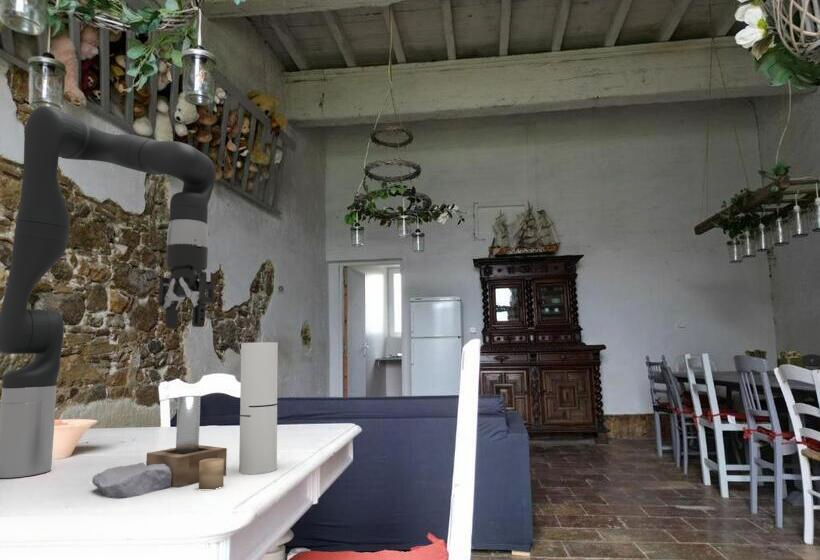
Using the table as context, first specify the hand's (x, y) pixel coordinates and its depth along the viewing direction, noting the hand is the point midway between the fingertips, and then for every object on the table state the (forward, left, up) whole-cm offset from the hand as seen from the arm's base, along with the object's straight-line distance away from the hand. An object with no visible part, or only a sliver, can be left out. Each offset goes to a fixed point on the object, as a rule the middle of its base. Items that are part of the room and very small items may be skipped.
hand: (184, 327), depth 102 cm
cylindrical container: (+8, +12, -28) cm, 32 cm away
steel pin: (+1, +1, -28) cm, 28 cm away
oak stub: (+11, -1, -28) cm, 30 cm away
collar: (+1, +1, -28) cm, 28 cm away
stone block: (-1, -9, -29) cm, 30 cm away
